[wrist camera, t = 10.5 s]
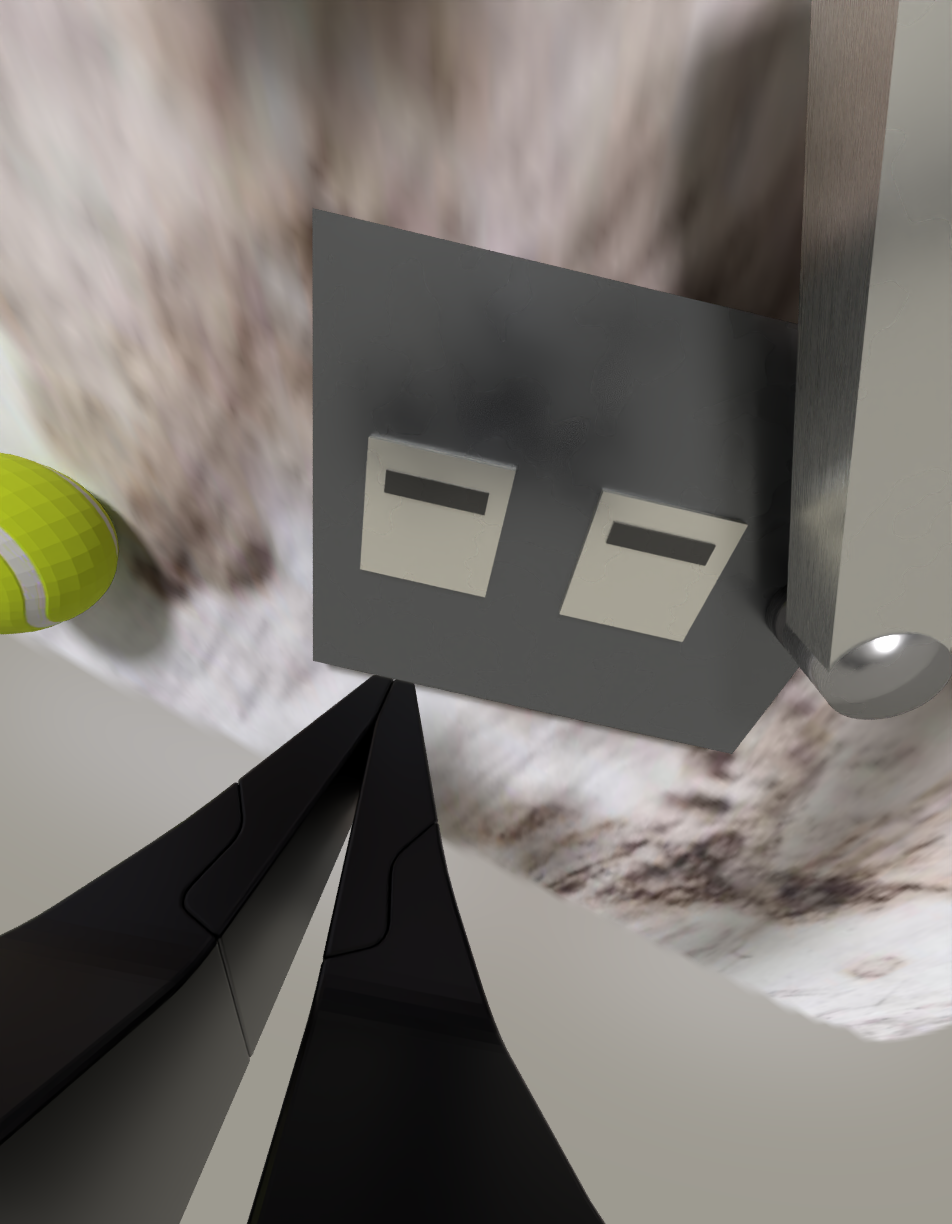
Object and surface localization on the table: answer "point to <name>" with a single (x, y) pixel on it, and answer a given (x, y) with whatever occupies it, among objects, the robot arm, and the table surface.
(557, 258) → the table surface
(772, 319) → the panel
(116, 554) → the tennis ball
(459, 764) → the table surface
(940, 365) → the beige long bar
